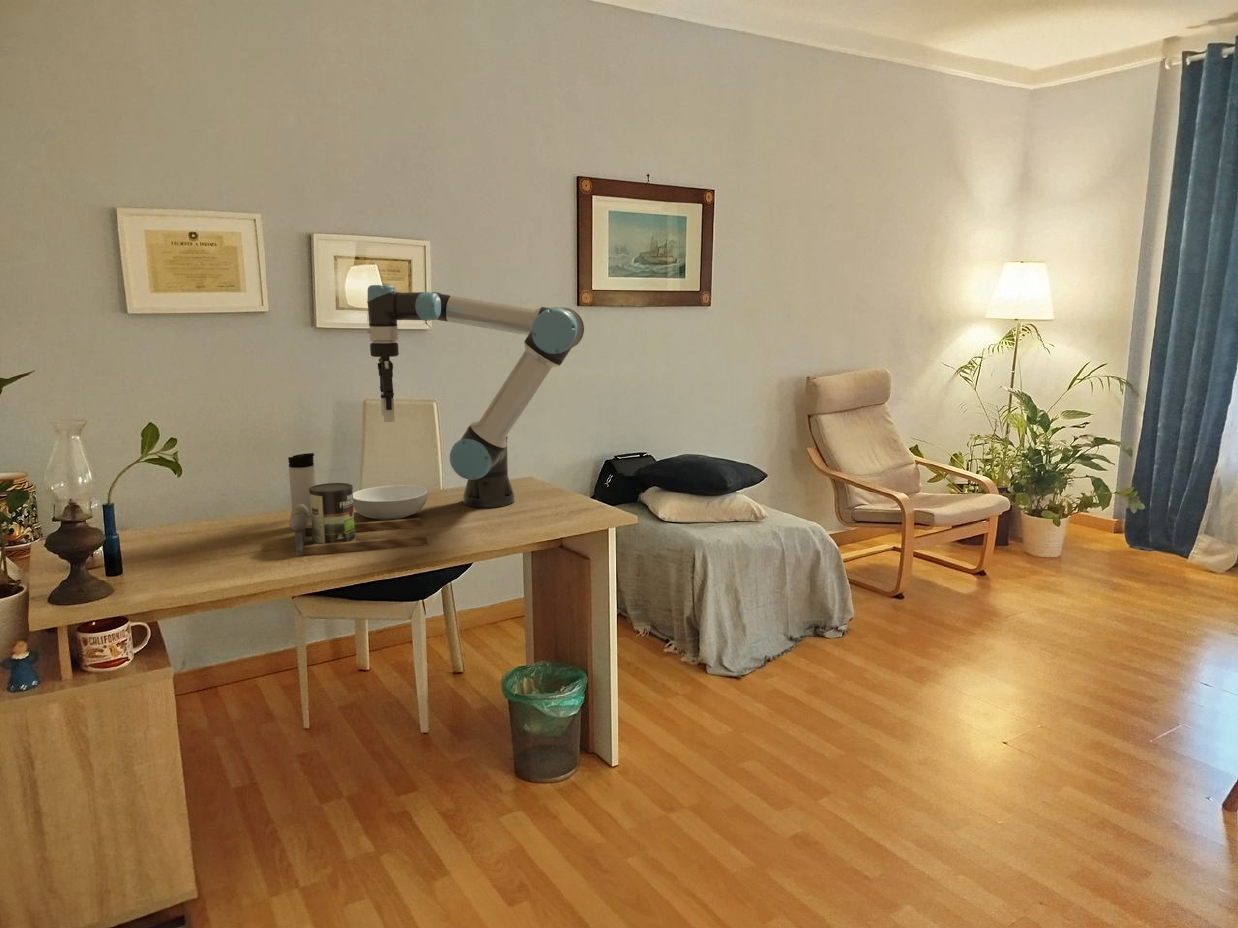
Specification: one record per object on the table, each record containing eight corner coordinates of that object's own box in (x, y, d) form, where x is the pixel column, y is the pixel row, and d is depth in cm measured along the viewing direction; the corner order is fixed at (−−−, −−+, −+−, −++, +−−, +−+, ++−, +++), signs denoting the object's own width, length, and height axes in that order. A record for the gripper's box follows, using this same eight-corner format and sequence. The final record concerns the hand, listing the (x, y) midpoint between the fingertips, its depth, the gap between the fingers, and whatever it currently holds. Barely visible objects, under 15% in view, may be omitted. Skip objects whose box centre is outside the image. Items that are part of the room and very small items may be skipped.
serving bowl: (426, 505, 251) (425, 482, 250) (430, 523, 231) (429, 498, 230) (352, 510, 246) (351, 486, 244) (350, 528, 226) (349, 503, 224)
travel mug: (311, 530, 223) (305, 455, 219) (288, 529, 225) (282, 454, 221) (324, 524, 229) (319, 451, 226) (301, 523, 231) (296, 450, 227)
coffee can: (363, 537, 218) (360, 483, 215) (343, 548, 208) (339, 492, 205) (325, 535, 219) (322, 481, 217) (304, 546, 209) (300, 490, 207)
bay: (420, 525, 229) (418, 492, 227) (427, 544, 211) (425, 509, 209) (294, 535, 219) (291, 501, 217) (290, 556, 201) (287, 519, 200)
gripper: (368, 340, 245) (372, 413, 250) (371, 344, 222) (376, 425, 226) (395, 339, 248) (398, 412, 252) (401, 344, 225) (405, 423, 229)
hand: (388, 418), depth 239 cm, fingers open, 13 cm apart
